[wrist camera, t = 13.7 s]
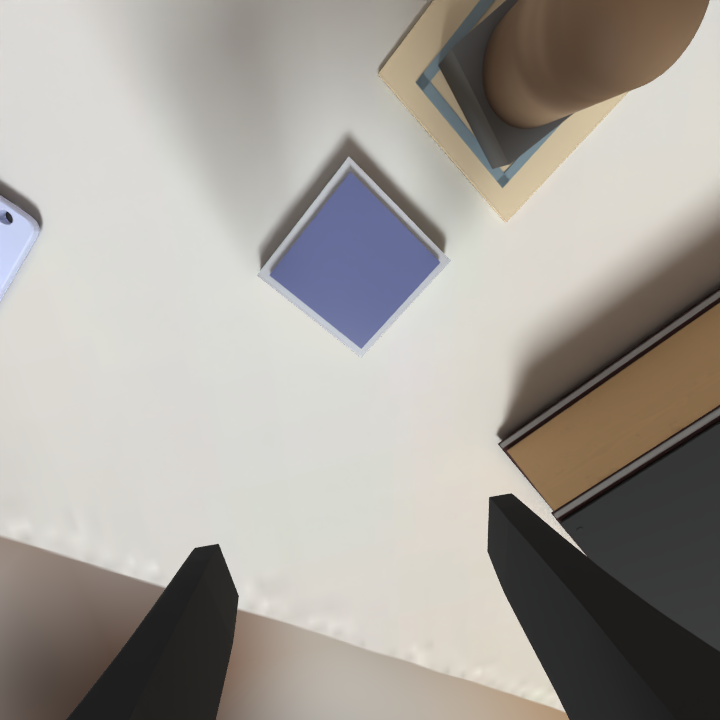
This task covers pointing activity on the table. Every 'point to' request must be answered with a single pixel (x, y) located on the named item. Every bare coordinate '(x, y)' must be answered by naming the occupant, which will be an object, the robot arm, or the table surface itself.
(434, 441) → the table surface
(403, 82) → the print card
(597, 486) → the book
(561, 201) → the table surface
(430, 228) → the table surface
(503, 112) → the stamp
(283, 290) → the ink pad
